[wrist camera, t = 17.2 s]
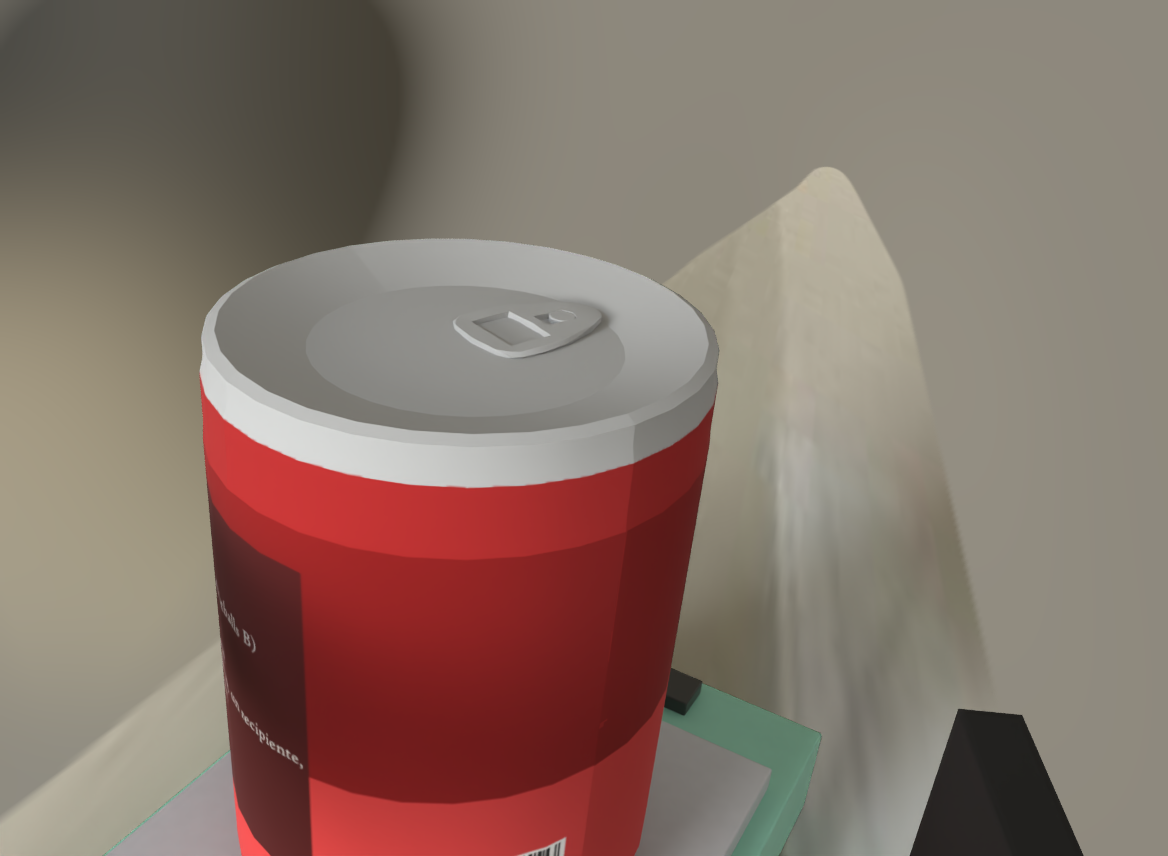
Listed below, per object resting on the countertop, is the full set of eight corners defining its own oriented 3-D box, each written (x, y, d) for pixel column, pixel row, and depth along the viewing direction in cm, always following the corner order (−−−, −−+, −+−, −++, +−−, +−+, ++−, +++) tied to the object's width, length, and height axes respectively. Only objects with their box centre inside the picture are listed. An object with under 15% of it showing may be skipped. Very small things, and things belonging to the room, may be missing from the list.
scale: (804, 805, 28) (827, 713, 26) (515, 1389, 17) (528, 1288, 15) (439, 640, 32) (442, 554, 30) (21, 1022, 21) (-5, 916, 20)
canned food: (708, 798, 23) (806, 318, 18) (468, 1104, 17) (511, 518, 12) (431, 645, 27) (447, 205, 22) (152, 856, 21) (80, 318, 16)
